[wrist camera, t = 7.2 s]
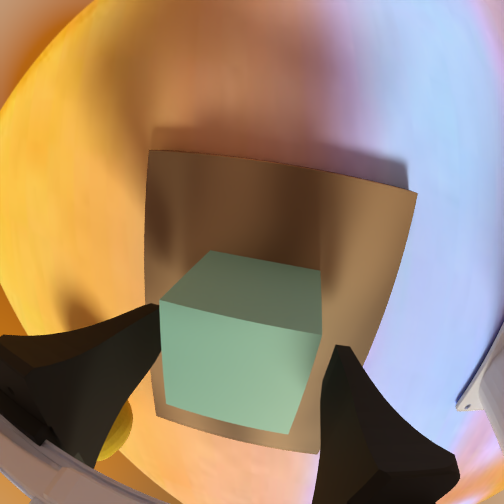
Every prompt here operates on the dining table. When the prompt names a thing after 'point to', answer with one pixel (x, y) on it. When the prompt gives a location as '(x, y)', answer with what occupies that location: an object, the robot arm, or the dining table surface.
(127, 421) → the lemon
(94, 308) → the dining table surface
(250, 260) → the block
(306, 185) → the board
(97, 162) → the dining table surface
